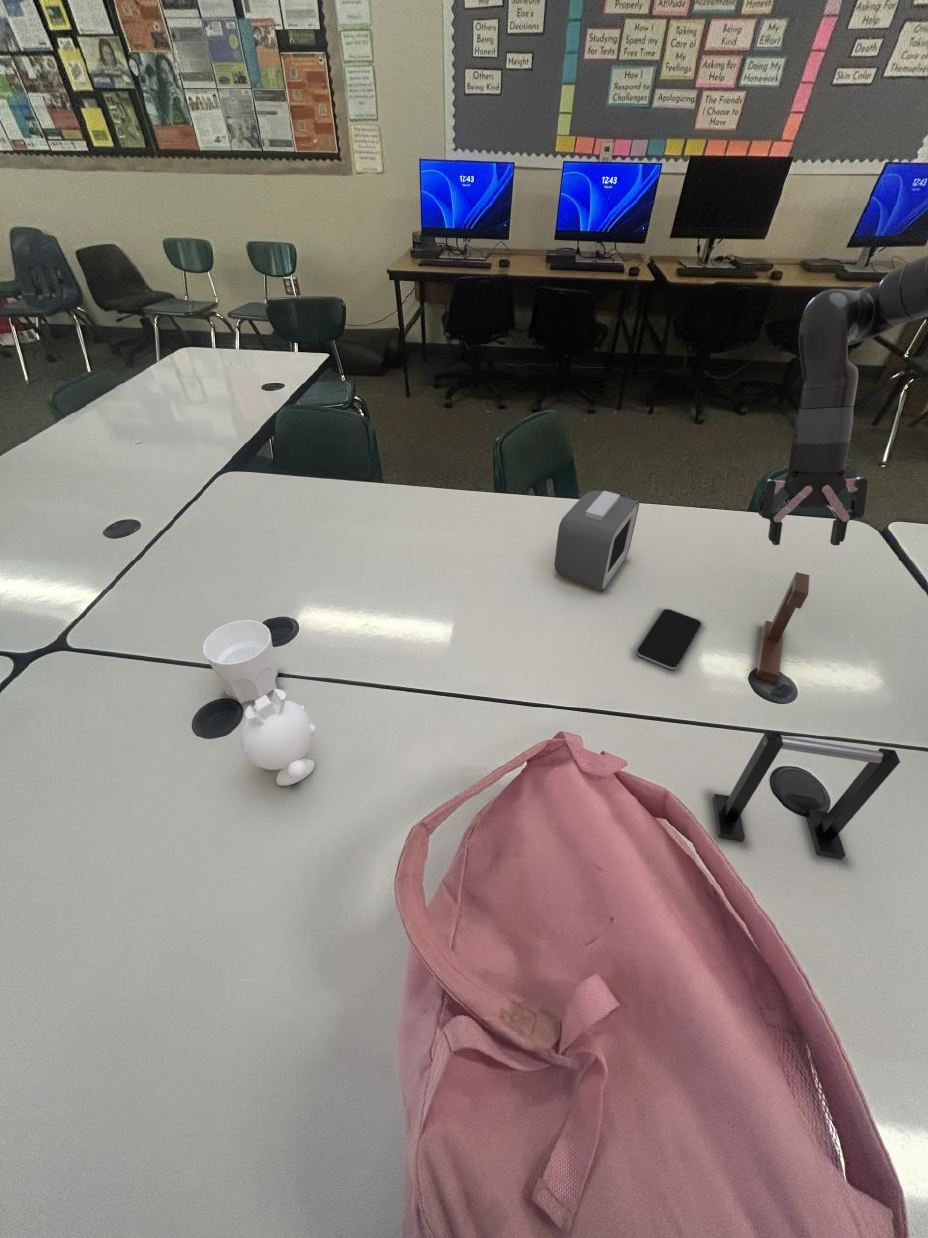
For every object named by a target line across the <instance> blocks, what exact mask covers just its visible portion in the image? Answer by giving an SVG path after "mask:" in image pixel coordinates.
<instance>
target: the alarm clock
mask: <svg viewBox="0 0 928 1238" xmlns="http://www.w3.org/2000/svg"><path fill="white" fill-rule="evenodd" d="M639 507H640V501H638V500H635V499H632V498H627V497H624V496H621V495H620V494H619V493H615V492H611V491H607V490H603V491H602V490H601V491H600V490H590V491H588V492H586V493H585V494H583V496H582V497H580V498H579V500H577V502H576V503H575V504H574V505H573V506H572V507H571V508H570V509H569V510H568V511H567V512H566V514H565V515H564V516H563V517H562V519H561V521H560V523H559V525H558V529H557V530H558V531H557V538H556V539H557V540H556V548H555V556H554V562H553V567H554V570H555V572H556V573H557V574H558V575H559V576H560V577H562V578H563V579H566V580H570V581H572V582H575V583H577V584H581V585H584V586H587V587H590V588H593V589H596V590H599V591H602V592H604V591H605V590H606V588H607V587H608V586H609V585H610V583H611V581H612V580H613V578H614V577H615V575H616V574H617V573H618V572H619V570H620V568H622V566H623V564H624V563H625V561H626V559H627V556H628V554H629V551H630V548H631V544H632V539H633V535H634V531H635V526H636V521H637V517H638V512H639Z"/></svg>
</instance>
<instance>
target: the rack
mask: <svg viewBox="0 0 928 1238" xmlns="http://www.w3.org/2000/svg"><path fill="white" fill-rule="evenodd" d="M781 750H786V751H793V752H800V753H807V754H813V755H817V756H818V755H819V756H826V757H832V758H838V759H844V760H845V759H846V760H852V761H859V762H864V763H866V764H865V766H864V767H863V769H862V770H861V771H860V772H859V774H857V776H856V777H855V778H854V779H853V781H852V782H851V783H850V785H849V786H848V787H847V789H846V790H845V791H844V792H843V794H842V795H841V796H840V797H839V798H838V799H837V801H836V802H835V804H834V805H833V806H832V807H831V809H830V810H829V811H827V812H826V811H821V810H815V809H806V812H805V817H806V820H807V823H808V827H809V830H810V834H811V838H812V841H813V845H814V848H815V851H816V852H815V853H816V856H821V857H827V858H833V859H838V860H843V859H844V858H845V857H846V852H845V850H844V846H843V843H842V840H841V837H840V833H841V832H842V830H843V829H844V828H845V827H846V826H847V825H848V824H849V822H850V821H851V820H852V819H853V818H854V817H855V815H856V814H857V813H858V812H859V811H860V810H861V808H862V807H863V806H864V805H865V804H866V803H867V801H869V799H870V798H871V797H872V796H873V794H875V792H876V791H877V790H878V789H879V787H881V785H883V783H884V782H885V780H886V779H887V778H888V777H889V776H890V775H891V773H892V772H893V771H894V770H895V769H896V768H897V767H898V765H899V764H900V763H901V760H900V758H899V756H898V753H897V751H896V749H889V748H883V747H882V748H881V747H880V748H878V749H877V750H876V749H875V750H874V749H869V748H862V747H855V746H849V745H842V744H835V743H834V744H833V743H829V742H822V741H815V740H808V739H801V738H794V737H790V736H789V737H788V736H782V734H781V733H780V732H776V731H768V730H765V732H764V733H763V735H762V737H761V739H760V741H759V743H758V744H757V746H756V748H755V750H754V751H753V753H752V755H751V757H750V759H749V760H748V761H747V763H746V765H745V767H744V769H743V771H742V773H741V775H740V776H739V777H738V780H737V782H736V783H735V785H734V787H733V789H732V791H731V792H730V794H729V795H725V794H718V793H714V794H713V796H712V803H713V809H714V816H715V823H716V830H717V835H718V838H721V839H724V840H725V839H726V840H731V841H735V842H736V841H737V842H743V841H745V838H746V836H745V831H744V826H743V821H742V814H743V812H744V810H745V808H747V805H748V803H749V802H750V800H751V799H752V797H753V795H754V794H755V792H756V791H757V789H758V788H759V785H760V784H761V782H762V780H763V779H764V777H765V776H766V774H767V772H768V771H769V769H770V767H771V766H772V765H773V762H774V760H775V759H776V757H777V756H778V754H779V753H780V751H781Z"/></svg>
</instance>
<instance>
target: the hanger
mask: <svg viewBox="0 0 928 1238" xmlns="http://www.w3.org/2000/svg"><path fill="white" fill-rule="evenodd" d="M809 589H810V575H809V574H807V573H802V572H798V571H796V572H795V573H794V575H793V577H792V579H791V582H790V584H789V586H788V588H787V590H786V592H785V594H784V596H783V599H782V601H781V602H780V605H779V606H778V609H777V612H776V613H775V615H774V617H773V619H772V621H769V620H765V622H764V624H763V626H762V628H761V634H760V640H759V641H760V643H759V648H758V657H757V664H756V671H755V679H757V680H758V679H759V680H762V681H765V682H768V683H771V684H775V683H776V682H777V680H778V678H779V675H780V667H781V658H782V657H781V656H782V646H783V638H784V637H783V636H784V633H785V630H786V629H787V627H788V624H789V623H790V621H791V618H792V617H793V614H794V612H795V611H796V609H801V610H802V607H803V605H804V603H805V601H806V599H807V597H808V595H809V591H810V590H809Z"/></svg>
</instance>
